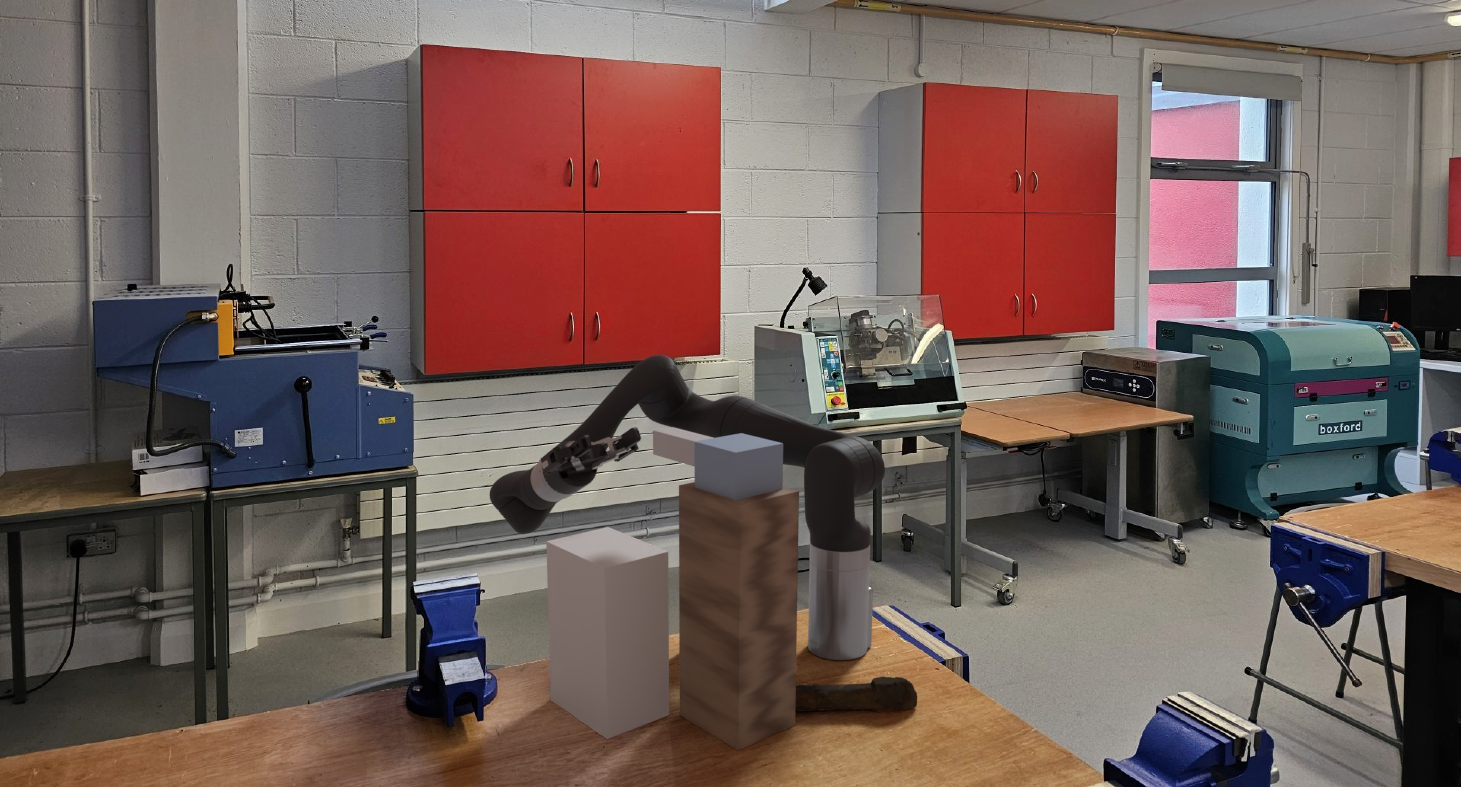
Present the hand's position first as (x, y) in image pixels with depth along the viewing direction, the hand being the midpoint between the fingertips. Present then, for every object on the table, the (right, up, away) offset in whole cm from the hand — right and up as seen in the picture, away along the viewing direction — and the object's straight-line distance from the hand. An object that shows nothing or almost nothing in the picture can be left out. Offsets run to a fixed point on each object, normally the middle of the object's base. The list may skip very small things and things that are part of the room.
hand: (613, 437), depth 148 cm
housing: (+14, -5, -13) cm, 20 cm away
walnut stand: (+18, -37, -12) cm, 43 cm away
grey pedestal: (0, -37, -9) cm, 38 cm away
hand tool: (+33, -37, -8) cm, 50 cm away
